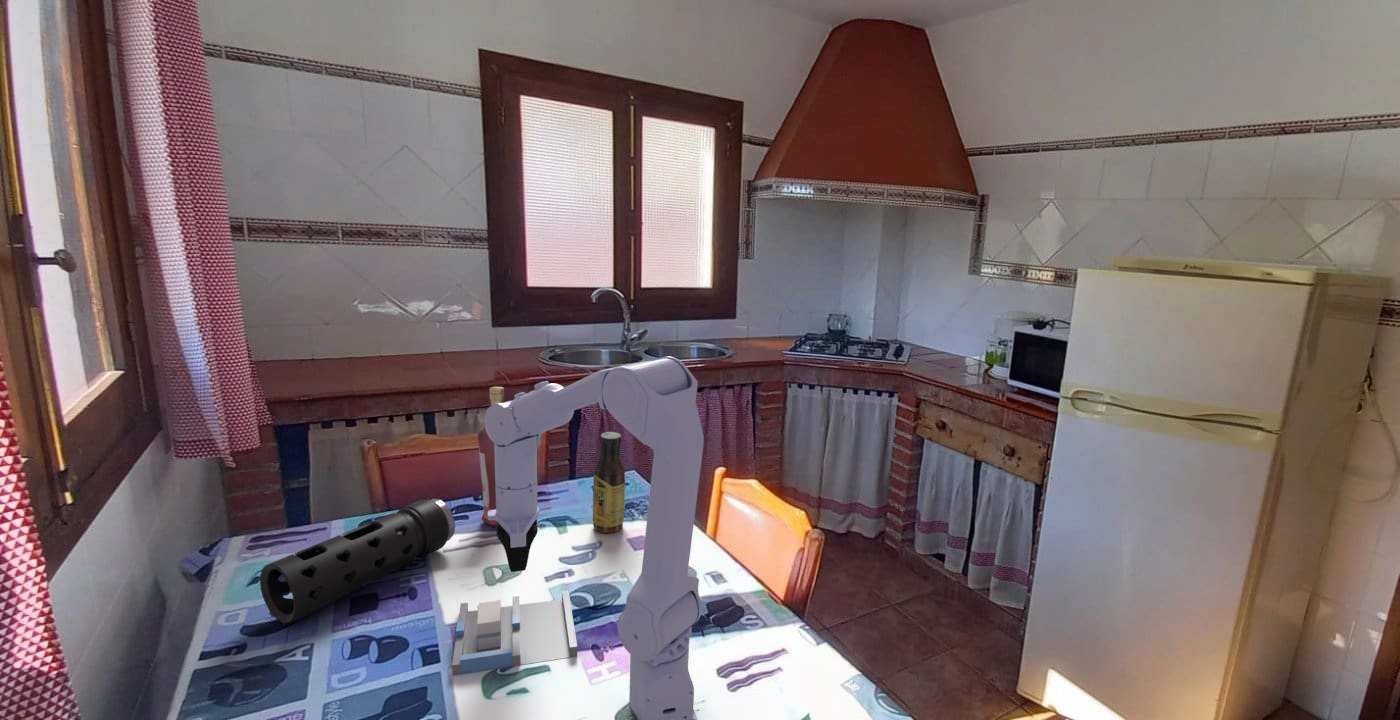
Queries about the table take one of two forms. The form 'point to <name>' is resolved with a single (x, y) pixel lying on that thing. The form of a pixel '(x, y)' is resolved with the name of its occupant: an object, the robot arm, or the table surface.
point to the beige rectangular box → (489, 625)
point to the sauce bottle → (609, 486)
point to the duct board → (517, 636)
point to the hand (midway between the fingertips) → (518, 568)
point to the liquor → (489, 462)
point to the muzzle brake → (354, 559)
